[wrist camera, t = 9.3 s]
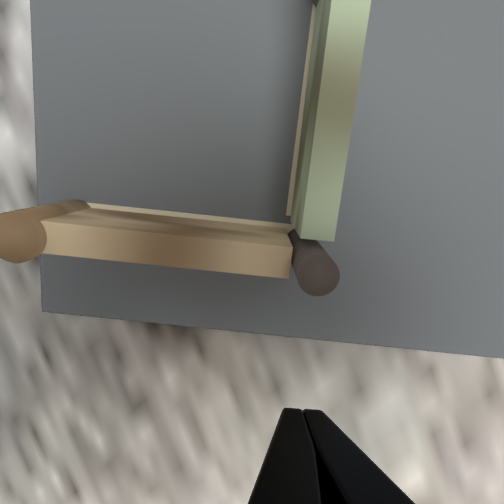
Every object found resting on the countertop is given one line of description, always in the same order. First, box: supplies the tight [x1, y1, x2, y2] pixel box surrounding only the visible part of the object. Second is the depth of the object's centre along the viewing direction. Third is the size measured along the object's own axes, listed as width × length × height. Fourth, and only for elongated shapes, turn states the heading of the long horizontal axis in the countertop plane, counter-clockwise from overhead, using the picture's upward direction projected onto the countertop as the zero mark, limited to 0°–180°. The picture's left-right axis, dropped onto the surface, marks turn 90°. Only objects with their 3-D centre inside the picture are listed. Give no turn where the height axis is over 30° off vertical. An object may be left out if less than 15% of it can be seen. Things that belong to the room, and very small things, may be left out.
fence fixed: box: [0, 199, 340, 296], centre depth 14 cm, size 12×2×6 cm, turn 84°
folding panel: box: [290, 0, 371, 242], centre depth 13 cm, size 10×2×4 cm, turn 175°
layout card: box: [30, 0, 504, 359], centre depth 16 cm, size 25×19×1 cm
